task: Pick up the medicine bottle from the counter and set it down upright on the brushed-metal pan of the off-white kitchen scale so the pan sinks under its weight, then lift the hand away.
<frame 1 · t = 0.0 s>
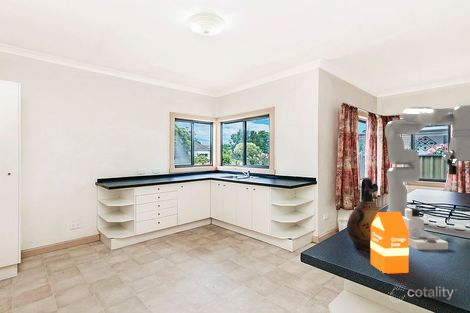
hand: (464, 174, 107), 31 cm above the counter, tool pointing down, fingers open, 9 cm apart
scale pan: (416, 233, 113), point 4 cm above the counter, slide at 0.0 cm
ceramic jug: (365, 246, 108), on the counter
orange juice: (388, 268, 88), on the counter
medicine bottle: (412, 232, 126), on the counter
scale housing: (416, 241, 114), on the counter
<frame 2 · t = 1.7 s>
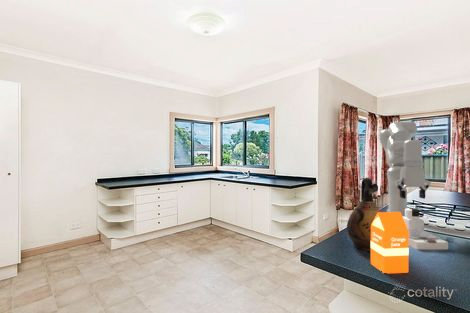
hand: (412, 198, 126), 17 cm above the counter, tool pointing down, fingers open, 9 cm apart
nothing on the counter moved.
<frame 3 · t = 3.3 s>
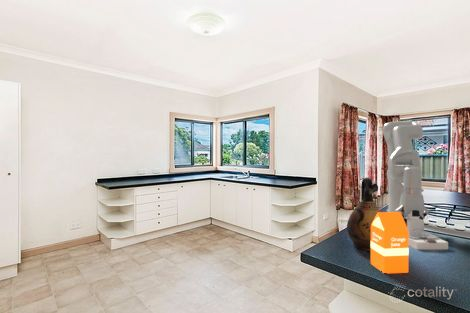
hand: (412, 225, 126), 3 cm above the counter, tool pointing down, fingers closed on medicine bottle, 7 cm apart
medicine bottle: (412, 232, 126), on the counter, touching gripper
everything else where it was.
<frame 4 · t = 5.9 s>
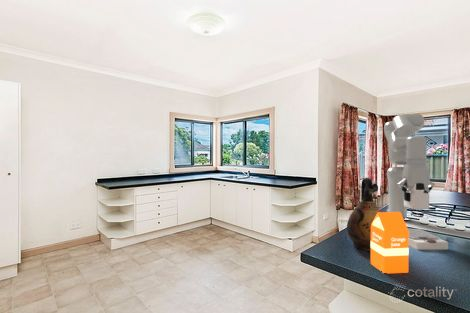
hand: (416, 200, 115), 18 cm above the counter, tool pointing down, fingers closed on medicine bottle, 7 cm apart
medicine bottle: (416, 208, 115), point 15 cm above the counter, touching gripper
everything else where it was.
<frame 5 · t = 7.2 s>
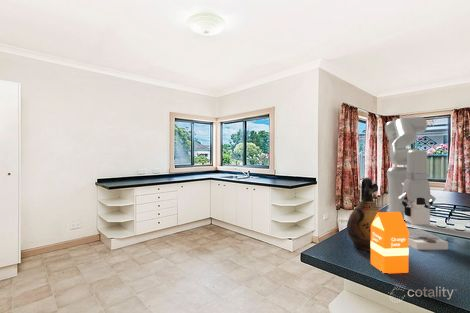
hand: (416, 215, 113), 12 cm above the counter, tool pointing down, fingers closed on medicine bottle, 7 cm apart
medicine bottle: (416, 222, 113), point 9 cm above the counter, touching gripper
everything else where it was.
when the fingers open (8 cm above the counter, at t = 8.4 s): medicine bottle drops 3 cm, resting on scale pan.
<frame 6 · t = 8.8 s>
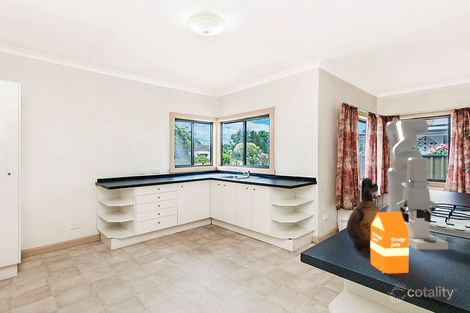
hand: (416, 221, 113), 9 cm above the counter, tool pointing down, fingers open, 9 cm apart
scale pan: (416, 236, 113), point 2 cm above the counter, slide at 1.4 cm, touching medicine bottle
medicine bottle: (416, 235, 114), point 2 cm above the counter, touching scale pan
everything else where it was.
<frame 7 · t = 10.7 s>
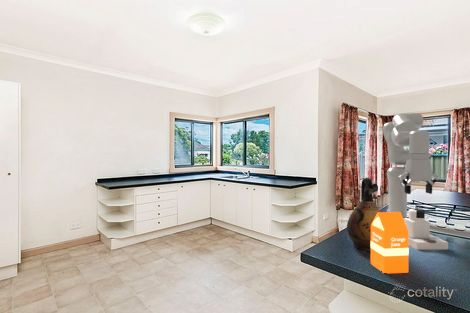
hand: (418, 193, 117), 21 cm above the counter, tool pointing down, fingers open, 9 cm apart
nothing on the counter moved.
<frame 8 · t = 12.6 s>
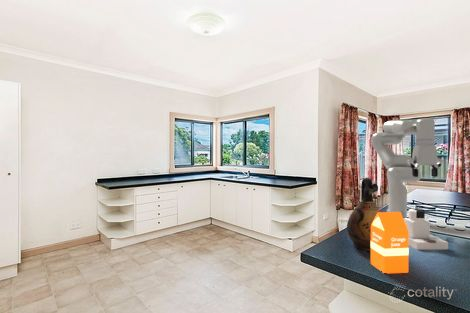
hand: (424, 176, 127), 28 cm above the counter, tool pointing down, fingers open, 9 cm apart
nothing on the counter moved.
at the end: medicine bottle 0.2 cm off-centre on the scale pan, point 3.8 cm above the scale pan's base; scale pan slide at 1.4 cm; medicine bottle tilted 0° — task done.
